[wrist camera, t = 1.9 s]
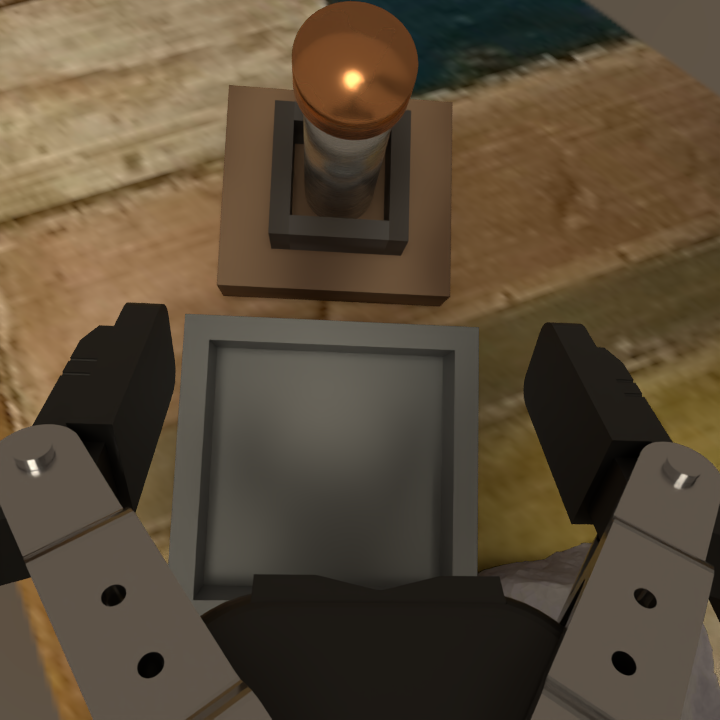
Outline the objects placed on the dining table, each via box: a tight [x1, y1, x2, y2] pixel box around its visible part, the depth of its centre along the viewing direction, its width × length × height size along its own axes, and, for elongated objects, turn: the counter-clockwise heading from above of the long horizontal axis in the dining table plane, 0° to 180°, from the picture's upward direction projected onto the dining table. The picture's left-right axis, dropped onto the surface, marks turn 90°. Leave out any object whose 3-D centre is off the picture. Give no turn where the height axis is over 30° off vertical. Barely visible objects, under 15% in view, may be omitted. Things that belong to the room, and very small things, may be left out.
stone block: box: [477, 543, 720, 720], centre depth 25 cm, size 12×5×10 cm
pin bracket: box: [217, 85, 452, 306], centre depth 26 cm, size 10×9×4 cm
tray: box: [168, 314, 479, 616], centre depth 25 cm, size 12×12×3 cm
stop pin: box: [292, 1, 418, 219], centre depth 21 cm, size 4×4×9 cm
